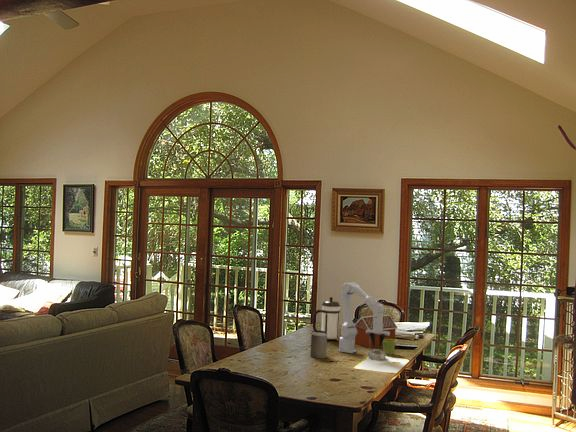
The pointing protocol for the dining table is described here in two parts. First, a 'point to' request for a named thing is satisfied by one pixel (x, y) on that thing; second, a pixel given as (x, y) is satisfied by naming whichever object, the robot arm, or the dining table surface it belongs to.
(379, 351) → the cap
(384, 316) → the gingerbread house
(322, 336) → the pillar candle
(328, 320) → the coffee press
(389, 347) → the plant pot
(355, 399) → the dining table surface
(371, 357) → the faceted ring
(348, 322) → the robot arm
